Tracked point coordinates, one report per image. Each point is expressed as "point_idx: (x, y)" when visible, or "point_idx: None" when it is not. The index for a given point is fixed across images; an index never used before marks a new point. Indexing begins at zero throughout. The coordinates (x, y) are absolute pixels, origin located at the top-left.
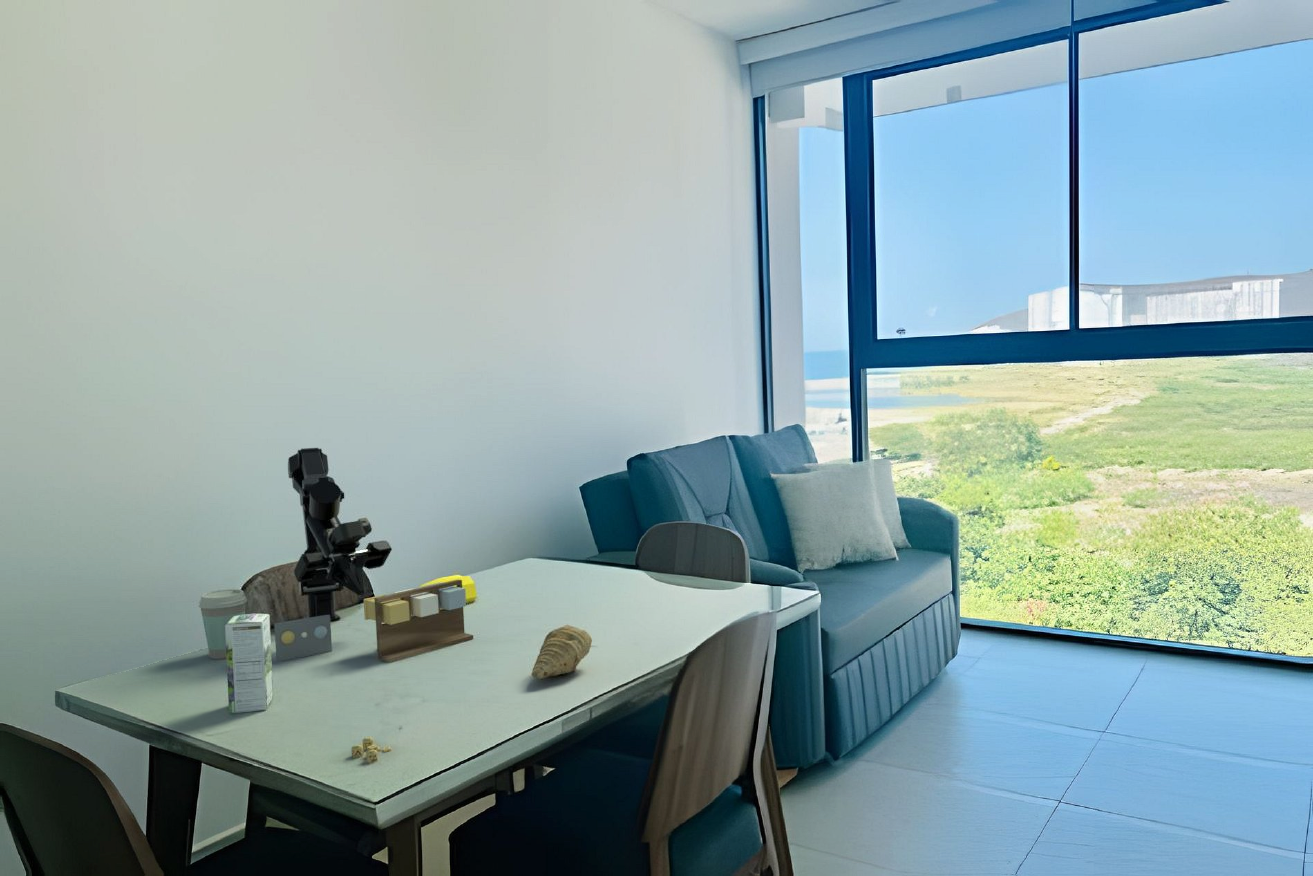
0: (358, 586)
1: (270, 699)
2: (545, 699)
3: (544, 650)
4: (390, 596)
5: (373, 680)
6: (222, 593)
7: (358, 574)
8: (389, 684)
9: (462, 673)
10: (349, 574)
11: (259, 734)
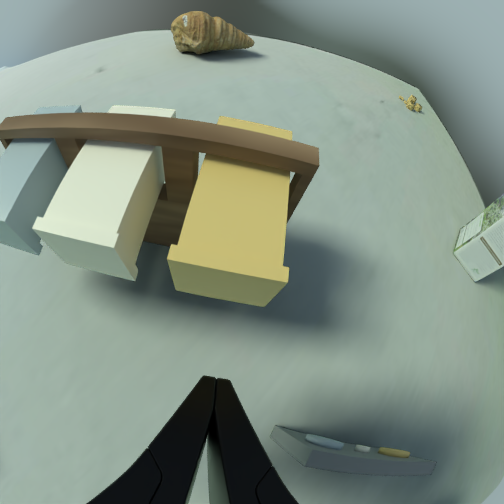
0: (230, 403)
1: (459, 239)
2: (269, 47)
3: (233, 27)
4: (261, 135)
5: (344, 183)
6: None
7: (180, 472)
8: (338, 155)
9: (249, 104)
10: (272, 494)
11: (464, 189)
